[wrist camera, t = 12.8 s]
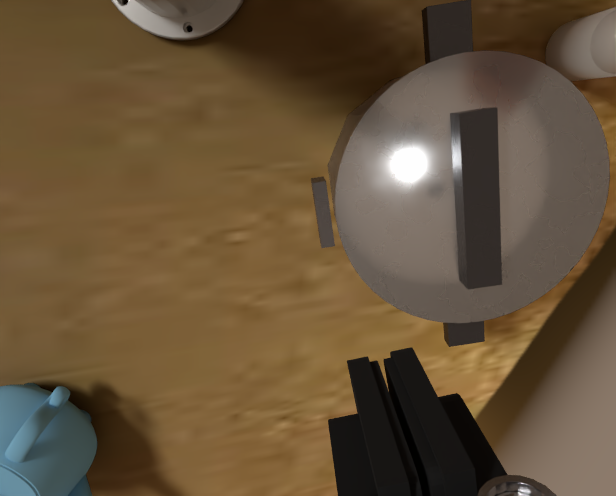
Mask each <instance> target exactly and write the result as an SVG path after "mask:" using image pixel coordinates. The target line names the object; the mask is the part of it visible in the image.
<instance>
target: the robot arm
mask: <svg viewBox="0 0 616 496" xmlns="http://www.w3.org/2000/svg"><path fill="white" fill-rule="evenodd" d="M111 1H112V2H113V3H114V5H115V6H116V7H117V9H118V10H119V11H120V12H121V13H122V14H123V15H124V16H126V17H127V18H128V19H129V20H130V21H131V22H132V23H134V24H135V25H137V26H138V27H140V28H142V29H143V30H145V31H147V32H149V33H151V34H153V35H156V36H159V37H163V38H166V39H172V40H192V39H198V38H201V37H204V36H207V35H210V34H211V33H213V32H215V31H217V30H218V29H220V28H222V27H223V26H224V25H225V24H226V23H227V22H228V21H229V20H230V19H232V18H233V16H234V15H235V13H236V12H237V11H238V9H239V8H240V7H241V5H242V3H243V1H244V0H128V3H127V5H124V0H111ZM189 26H192V28H193V30H192V32H188V30H187V29H188V27H189ZM390 355H391V358H387V359H384V366H385V372H386V378H387V383H388V389H389V392H388V389H387V386H386V383H385V380H384V378H383V375H382V372H381V369H380V366H379V364H378V361H372V362H369V359H368V357H363V358H358V359H353V360H348V361H347V364H348V369H349V374H350V378H351V383H352V388H353V393H354V398H355V403H356V408H357V412H358V414H353V415H348V416H344V417H339V418H334V419H329V420H328V424H329V432H330V439H331V446H332V454H333V461H334V469H335V476H336V484H337V491H338V496H556V494H554V493H553V492H552V491H551V490H550V489H549V488H547V487H546V486H545V485H543V484H541V483H539V482H537V481H535V480H534V479H530V478H527V477H523V476H518V475H507V473H506V472H505V470H504V468H503V467H502V465H501V463H500V461H499V460H498V458H497V456H496V455H495V453H494V452H493V450H492V448H491V446H490V445H489V443H488V441H487V440H486V438H485V436H484V435H483V433H482V431H481V430H480V428H479V426H478V425H477V423H476V421H475V420H474V418H473V416H472V414H471V413H470V411H469V409H468V408H467V406H466V404H465V403H464V401H463V399H462V398H461V396H460V395H459V394H457V393H456V394H451V395H446V396H441V397H438V396H437V394H436V393H435V391H434V389H433V387H432V385H431V383H430V381H429V379H428V377H427V375H426V373H425V371H424V369H423V367H422V365H421V364H420V362H419V360H418V358H417V356H416V354H415V352H414V350H413V348H406V349H401V350H397V351H392V352H390Z"/></svg>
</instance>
